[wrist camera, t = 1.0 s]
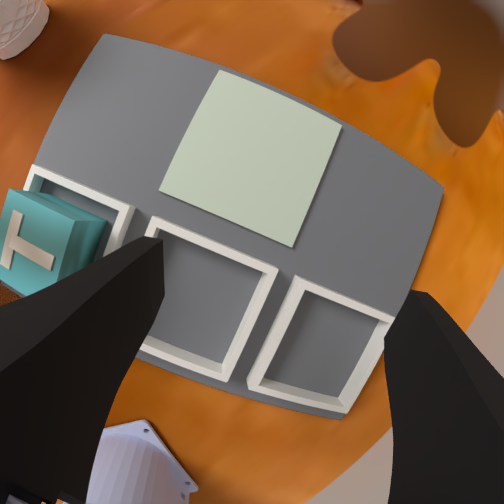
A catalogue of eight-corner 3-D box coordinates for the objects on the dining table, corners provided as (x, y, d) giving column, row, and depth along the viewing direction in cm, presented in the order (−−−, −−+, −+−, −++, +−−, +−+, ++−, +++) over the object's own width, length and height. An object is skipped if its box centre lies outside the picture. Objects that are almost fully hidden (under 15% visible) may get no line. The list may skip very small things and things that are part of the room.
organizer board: (337, 415, 22) (347, 430, 20) (6, 281, 18) (-11, 287, 16) (438, 188, 21) (456, 186, 19) (106, 38, 17) (98, 23, 15)
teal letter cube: (84, 290, 18) (49, 310, 13) (30, 261, 18) (-13, 271, 13) (107, 220, 18) (73, 220, 13) (50, 194, 17) (8, 188, 12)
